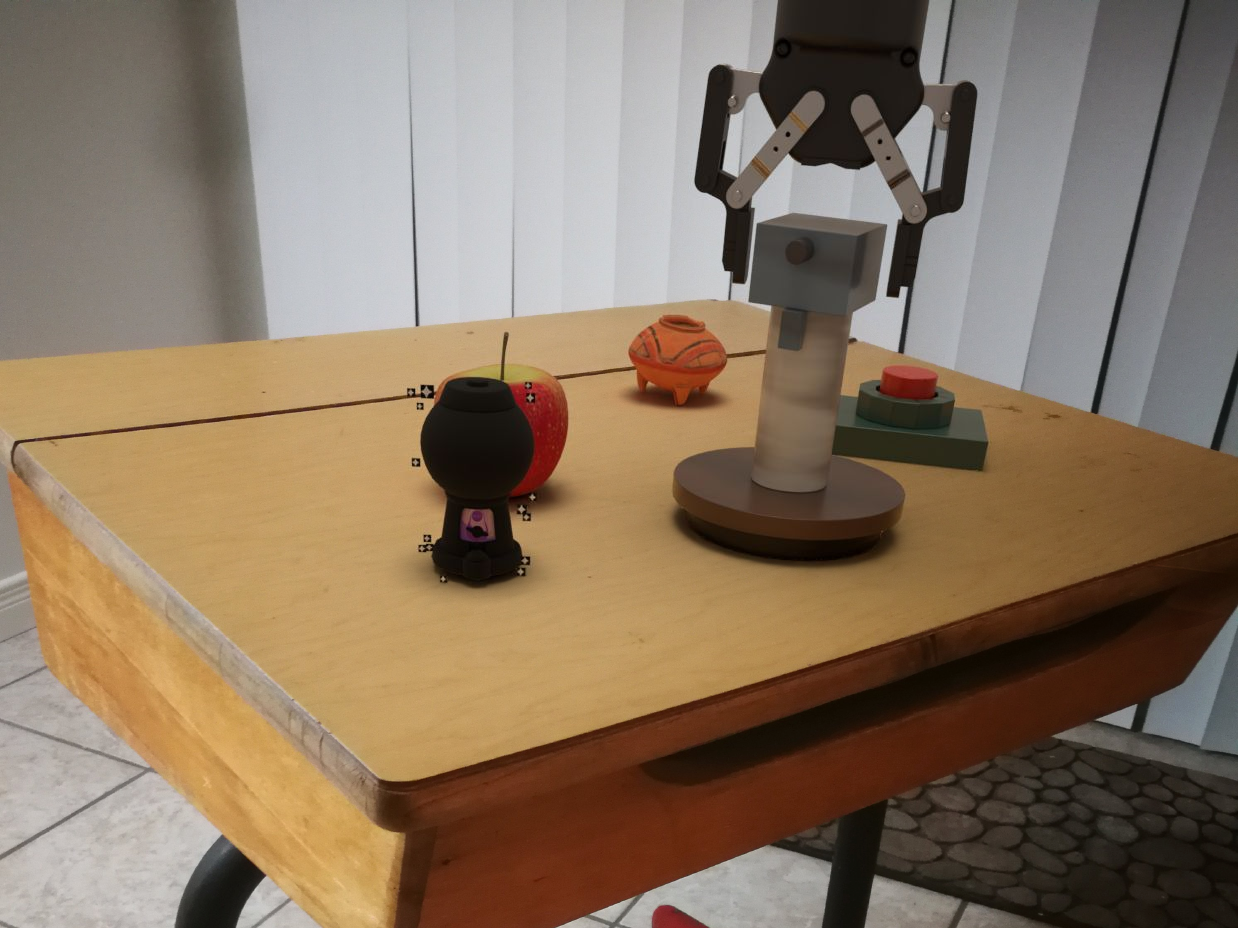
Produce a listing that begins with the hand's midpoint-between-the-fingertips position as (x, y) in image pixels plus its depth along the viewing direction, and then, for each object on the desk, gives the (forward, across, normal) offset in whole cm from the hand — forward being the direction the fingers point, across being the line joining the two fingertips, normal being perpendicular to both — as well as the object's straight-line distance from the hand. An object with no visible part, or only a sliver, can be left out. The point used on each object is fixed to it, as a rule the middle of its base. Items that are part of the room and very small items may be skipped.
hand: (815, 288), depth 71 cm
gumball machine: (+14, +16, +13) cm, 25 cm away
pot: (+14, +11, -28) cm, 33 cm away
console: (+14, -7, -21) cm, 26 cm away
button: (+10, -7, -21) cm, 24 cm away
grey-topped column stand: (+12, 0, 0) cm, 12 cm away
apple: (+14, +18, 0) cm, 23 cm away
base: (+14, 0, 0) cm, 14 cm away
